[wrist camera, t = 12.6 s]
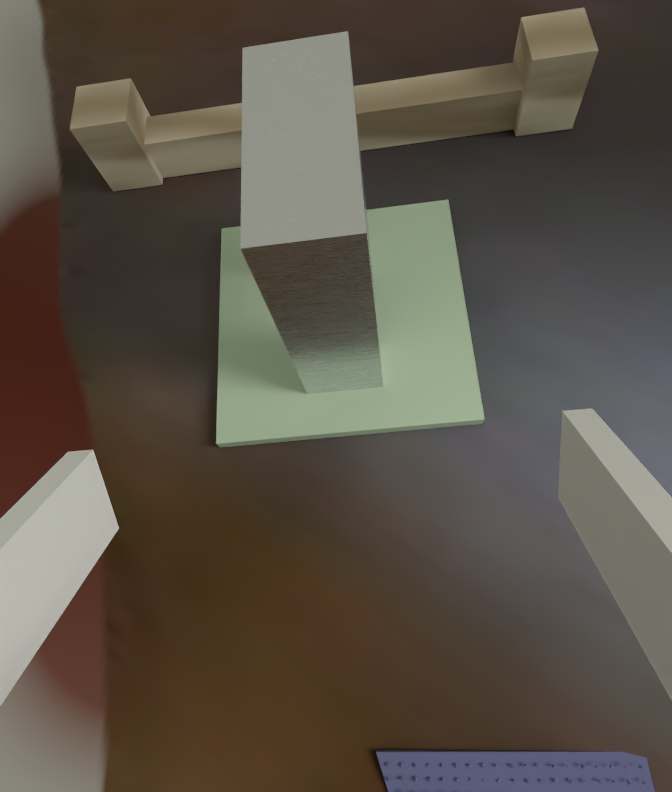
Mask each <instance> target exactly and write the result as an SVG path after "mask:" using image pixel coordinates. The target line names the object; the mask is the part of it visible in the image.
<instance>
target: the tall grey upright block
mask: <svg viewBox="0 0 672 792" xmlns="http://www.w3.org/2000/svg"><path fill="white" fill-rule="evenodd" d="M240 249H241V251H242V253H243V255H244V257H245V260H246V262H247V264H248V266H249V268H250V270H251V273H252V275H253V277H254V279H255V281H256V283H257V286H258V288H259V290H260V292H261V294H262V296H263V299H264V301H265V303H266V305H267V307H268V309H269V312H270V314H271V316H272V318H273V320H274V322H275V325H276V327H277V329H278V331H279V333H280V335H281V338H282V340H283V342H284V344H285V346H286V348H287V351H288V353H289V355H290V357H291V359H292V361H293V364H294V366H295V368H296V370H297V372H298V374H299V377H300V379H301V381H302V383H303V385H304V387H305V390H306V392H307V394H315V393H326V392H336V391H346V390H356V389H367V388H377V387H384V386H383V375H382V365H381V354H380V344H379V335H378V325H377V316H376V307H375V297H374V288H373V278H372V275H373V269H372V259H371V248H370V238H369V228H368V219H367V209H366V200H365V190H364V180H363V171H362V161H361V152H360V142H359V132H358V123H357V113H356V103H355V94H354V84H353V75H352V65H351V55H350V46H349V36H348V31H346V32H340V33H334V34H327V35H321V36H315V37H308V38H302V39H296V40H289V41H283V42H277V43H270V44H264V45H258V46H251V47H245V48H243V60H242V152H241V244H240Z"/></svg>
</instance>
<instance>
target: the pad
mask: <svg viewBox="0 0 672 792" xmlns="http://www.w3.org/2000/svg"><path fill="white" fill-rule="evenodd" d="M367 219H368V228H369V238H370V248H371V259H372V269H373V275H372V278H373V288H374V297H375V307H376V316H377V325H378V335H379V344H380V354H381V365H382V375H383V386H384V387H377V388H367V389H356V390H346V391H336V392H326V393H315V394H307V392H306V390H305V387H304V385H303V383H302V381H301V379H300V377H299V374H298V372H297V370H296V368H295V366H294V364H293V361H292V359H291V357H290V355H289V353H288V351H287V348H286V346H285V344H284V342H283V340H282V338H281V335H280V333H279V331H278V329H277V327H276V325H275V322H274V320H273V318H272V316H271V314H270V312H269V309H268V307H267V305H266V303H265V301H264V299H263V296H262V294H261V292H260V290H259V288H258V286H257V283H256V281H255V279H254V277H253V275H252V273H251V270H250V268H249V266H248V264H247V262H246V260H245V257H244V255H243V253H242V251H241V249H240V244H241V226H238V227H230V228H222V231H221V270H220V309H219V348H218V387H217V426H216V444H217V445H218V446H219V447H231V446H242V445H253V444H264V443H276V442H287V441H298V440H309V439H320V438H331V437H342V436H353V435H364V434H375V433H386V432H397V431H408V430H419V429H430V428H441V427H452V426H463V425H474V424H483V422H484V413H483V407H482V401H481V395H480V389H479V383H478V377H477V371H476V365H475V359H474V353H473V346H472V340H471V334H470V328H469V322H468V316H467V310H466V304H465V298H464V292H463V286H462V280H461V274H460V268H459V262H458V256H457V250H456V244H455V237H454V231H453V225H452V219H451V213H450V207H449V201H448V200H441V201H433V202H425V203H417V204H409V205H402V206H394V207H386V208H378V209H370V210H367Z"/></svg>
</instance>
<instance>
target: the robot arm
mask: <svg viewBox="0 0 672 792" xmlns="http://www.w3.org/2000/svg"><path fill="white" fill-rule="evenodd" d="M558 498H559V500H560V502H561V504H562V506H563V507H564V509H565V511H566V513H567V515H568V516H569V518H570V520H571V522H572V523H573V525H574V527H575V529H576V531H577V532H578V534H579V536H580V538H581V540H582V541H583V543H584V545H585V547H586V549H587V550H588V552H589V554H590V556H591V557H592V559H593V561H594V563H595V565H596V566H597V568H598V570H599V572H600V574H601V575H602V577H603V579H604V581H605V582H606V584H607V586H608V588H609V590H610V591H611V593H612V595H613V597H614V599H615V600H616V602H617V604H618V606H619V607H620V609H621V611H622V613H623V615H624V616H625V618H626V620H627V622H628V624H629V625H630V627H631V629H632V631H633V632H634V634H635V636H636V638H637V640H638V641H639V643H640V645H641V647H642V649H643V650H644V652H645V654H646V656H647V657H648V659H649V661H650V663H651V665H652V666H653V668H654V670H655V672H656V674H657V675H658V677H659V679H660V681H661V683H662V684H663V686H664V688H665V690H666V691H667V693H668V695H669V697H670V699H671V700H672V497H671V496H670V495H669V494H668V493H667V492H666V491H665V489H664V488H663V487H662V486H661V485H660V484H659V483H658V482H657V480H656V479H655V478H654V477H653V476H652V475H651V474H650V473H649V472H648V470H647V469H646V468H645V467H644V466H643V465H642V464H641V463H640V461H639V460H638V459H637V458H636V457H635V456H634V455H633V454H632V452H631V451H630V450H629V449H628V448H627V447H626V446H625V445H624V444H623V442H622V441H621V440H620V439H619V438H618V437H617V436H616V435H615V433H614V432H613V431H612V430H611V429H610V428H609V427H608V426H607V424H606V423H605V422H604V421H603V420H602V419H601V418H600V417H599V416H598V414H597V413H596V412H595V411H594V410H593V409H592V408H591V409H579V410H567V411H562V430H561V451H560V472H559V494H558ZM118 529H119V527H118V524H117V521H116V517H115V514H114V511H113V508H112V505H111V502H110V499H109V496H108V493H107V490H106V487H105V484H104V481H103V478H102V475H101V472H100V469H99V466H98V463H97V460H96V457H95V454H94V451H93V450H84V451H72V452H67V453H66V454H65V455H64V456H63V457H62V458H61V459H60V460H59V461H58V462H57V463H56V464H55V465H54V466H53V467H52V468H51V469H50V470H49V471H48V472H47V473H46V474H45V475H44V476H43V477H42V478H41V479H40V480H39V481H38V482H37V483H36V484H35V485H34V486H33V487H32V488H31V489H30V490H29V491H28V492H27V493H26V494H25V495H24V496H23V497H22V498H21V499H20V500H19V501H18V502H17V503H16V504H15V505H14V506H13V507H12V508H11V509H10V510H9V511H8V512H7V513H6V514H5V515H4V516H3V517H2V518H1V519H0V706H1V705H2V703H3V702H4V700H5V699H6V697H7V696H8V694H9V693H10V691H11V690H12V688H13V687H14V685H15V684H16V682H17V681H18V679H19V678H20V676H21V675H22V673H23V672H24V670H25V668H26V667H27V666H28V664H29V663H30V661H31V660H32V658H33V657H34V655H35V654H36V652H37V651H38V649H39V648H40V646H41V645H42V643H43V642H44V640H45V639H46V637H47V636H48V634H49V633H50V631H51V629H52V628H53V627H54V625H55V624H56V622H57V621H58V619H59V617H60V616H61V615H62V613H63V612H64V610H65V609H66V607H67V606H68V604H69V603H70V601H71V600H72V598H73V597H74V595H75V594H76V592H77V591H78V589H79V588H80V586H81V585H82V583H83V581H84V580H85V579H86V577H87V575H88V574H89V573H90V571H91V570H92V568H93V567H94V565H95V564H96V562H97V561H98V559H99V558H100V556H101V555H102V553H103V552H104V550H105V549H106V547H107V546H108V544H109V543H110V541H111V540H112V538H113V537H114V535H115V534H116V532H117V531H118Z"/></svg>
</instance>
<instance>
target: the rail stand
mask: <svg viewBox="0 0 672 792" xmlns="http://www.w3.org/2000/svg"><path fill="white" fill-rule="evenodd" d="M598 51H599V50H598V47H597V44H596V41H595V38H594V35H593V32H592V29H591V26H590V23H589V20H588V17H587V14H586V11H585V8H578V9H571V10H565V11H559V12H552V13H546V14H539V15H533V16H527V17H521V20H520V26H519V31H518V36H517V41H516V47H515V52H514V57H513V63H506V64H499V65H493V66H486V67H479V68H473V69H466V70H459V71H453V72H446V73H439V74H432V75H426V76H419V77H412V78H406V79H399V80H392V81H386V82H379V83H372V84H365V85H359V86H354V94H355V103H356V113H357V123H358V132H359V142H360V151H363V150H370V149H377V148H385V147H392V146H399V145H406V144H414V143H421V142H428V141H435V140H443V139H450V138H457V137H464V136H472V135H479V134H486V133H493V132H500V131H508V130H514V133H515V137H516V136H523V135H530V134H537V133H545V132H552V131H559V130H567V129H572V128H573V125H574V122H575V119H576V116H577V113H578V110H579V107H580V104H581V101H582V98H583V95H584V92H585V89H586V86H587V83H588V80H589V77H590V74H591V71H592V68H593V65H594V62H595V59H596V57H597V54H598ZM70 131H71V132H72V134H73V135H74V136H75V138H76V139H77V141H78V142H79V143H80V145H81V146H82V148H83V149H84V151H85V152H86V153H87V155H88V156H89V158H90V159H91V161H92V162H93V163H94V165H95V166H96V168H97V169H98V171H99V172H100V173H101V175H102V176H103V178H104V179H105V181H106V182H107V183H108V185H109V186H110V188H111V189H112V191H113V192H114V191H121V190H129V189H136V188H143V187H151V186H158V185H163V178H168V177H175V176H182V175H189V174H197V173H204V172H211V171H218V170H225V169H233V168H240V167H241V152H242V103H238V104H231V105H225V106H218V107H211V108H205V109H198V110H191V111H184V112H178V113H171V114H164V115H158V116H150V114H149V112H148V110H147V109H146V107H145V105H144V103H143V101H142V99H141V97H140V95H139V93H138V91H137V89H136V87H135V85H134V84H133V82H132V80H131V78H130V79H124V80H117V81H111V82H104V83H98V84H92V85H85V86H79V87H76V93H75V99H74V105H73V111H72V117H71V124H70Z"/></svg>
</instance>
